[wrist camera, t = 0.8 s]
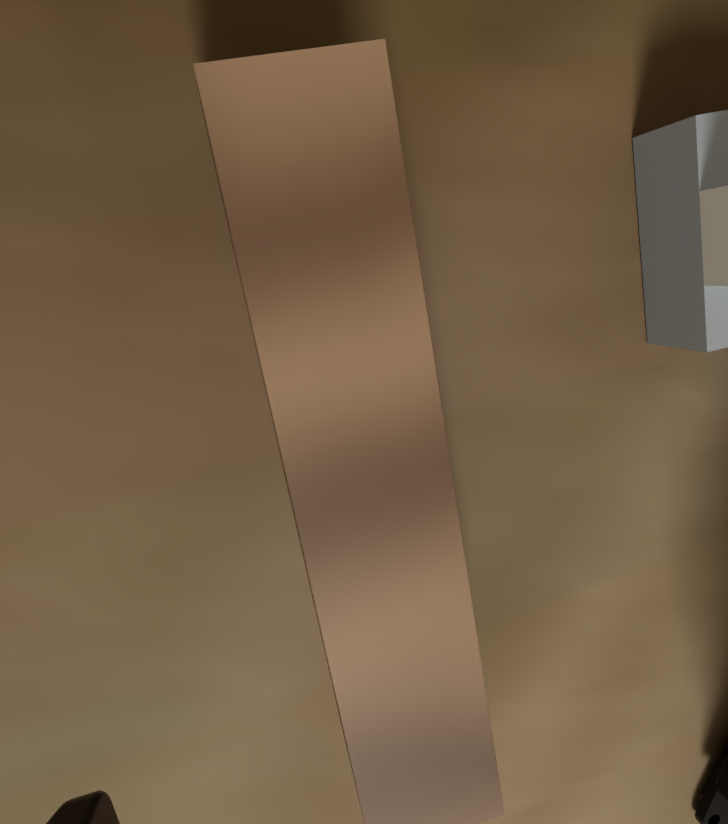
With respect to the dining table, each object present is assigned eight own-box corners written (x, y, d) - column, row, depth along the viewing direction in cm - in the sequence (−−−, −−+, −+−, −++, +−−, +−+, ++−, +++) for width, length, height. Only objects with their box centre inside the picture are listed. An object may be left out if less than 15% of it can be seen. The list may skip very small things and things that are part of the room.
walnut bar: (441, 688, 20) (504, 814, 16) (340, 719, 20) (372, 860, 15) (340, 111, 16) (384, 38, 11) (206, 130, 15) (193, 63, 11)
